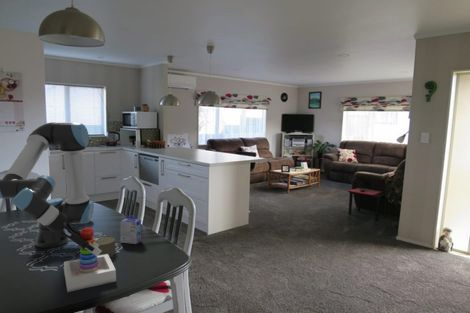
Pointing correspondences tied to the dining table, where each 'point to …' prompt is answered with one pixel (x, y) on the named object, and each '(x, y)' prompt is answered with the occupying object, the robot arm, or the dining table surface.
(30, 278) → the dining table surface
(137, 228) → the ink cartridge box
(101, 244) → the can
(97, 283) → the walled box
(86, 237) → the stacking toy
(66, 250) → the dining table surface
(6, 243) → the dining table surface
